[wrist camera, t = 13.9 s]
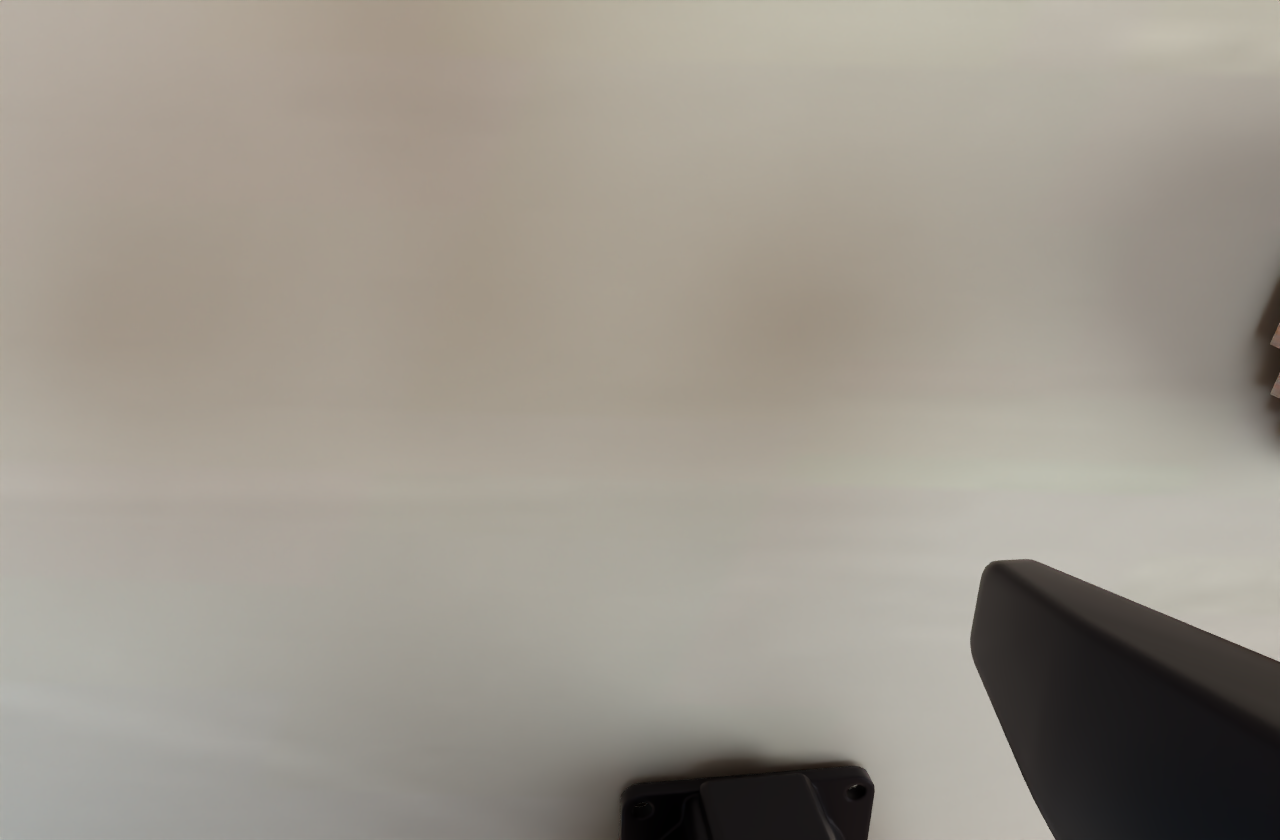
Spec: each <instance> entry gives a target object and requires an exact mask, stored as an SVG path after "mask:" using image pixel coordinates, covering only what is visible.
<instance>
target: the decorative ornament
mask: <svg viewBox="0 0 1280 840" xmlns="http://www.w3.org/2000/svg"><path fill="white" fill-rule="evenodd" d="M1270 344H1271V345H1273V346H1275V347H1277V348H1280V323H1279V325H1278V328H1277V330H1276V332H1275V334H1274V337H1273V339H1272V341H1271V343H1270ZM1270 394H1271V395H1273V396H1275V397H1277V398H1279V399H1280V373H1279V376H1278V378H1277V380H1276V382H1275V384H1274V387H1273V389H1272V391H1271V393H1270Z"/></svg>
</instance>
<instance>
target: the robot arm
mask: <svg viewBox="0 0 1280 840" xmlns="http://www.w3.org/2000/svg"><path fill="white" fill-rule="evenodd" d="M970 645H971V653H972V657H973V660H974V663H975V666H976V668H977V670H978V673H979V675H980V677H981V680H982V682H983V684H984V687H985V689H986V691H987V694H988V696H989V698H990V701H991V703H992V705H993V708H994V710H995V712H996V715H997V717H998V719H999V722H1000V724H1001V726H1002V729H1003V731H1004V733H1005V736H1006V738H1007V740H1008V743H1009V745H1010V747H1011V750H1012V752H1013V754H1014V757H1015V759H1016V761H1017V763H1018V766H1019V768H1020V770H1021V773H1022V775H1023V777H1024V780H1025V782H1026V784H1027V786H1028V788H1029V790H1030V792H1031V794H1032V797H1033V799H1034V801H1035V803H1036V805H1037V806H1038V808H1039V810H1040V812H1041V814H1042V816H1043V818H1044V820H1045V821H1046V823H1047V825H1048V827H1049V829H1050V831H1051V832H1052V834H1053V836H1054V838H1055V839H1056V840H1280V662H1279V661H1276V660H1274V659H1271V658H1269V657H1267V656H1264V655H1262V654H1259V653H1257V652H1254V651H1252V650H1250V649H1247V648H1245V647H1242V646H1240V645H1238V644H1235V643H1233V642H1230V641H1228V640H1225V639H1223V638H1221V637H1218V636H1216V635H1213V634H1211V633H1209V632H1206V631H1204V630H1201V629H1199V628H1196V627H1194V626H1192V625H1189V624H1187V623H1184V622H1182V621H1180V620H1177V619H1175V618H1172V617H1170V616H1168V615H1165V614H1163V613H1160V612H1158V611H1155V610H1153V609H1151V608H1148V607H1146V606H1143V605H1141V604H1139V603H1136V602H1134V601H1131V600H1129V599H1126V598H1124V597H1122V596H1119V595H1117V594H1114V593H1112V592H1110V591H1107V590H1105V589H1102V588H1100V587H1097V586H1095V585H1093V584H1090V583H1088V582H1085V581H1083V580H1081V579H1078V578H1076V577H1073V576H1071V575H1069V574H1066V573H1064V572H1061V571H1059V570H1056V569H1054V568H1052V567H1049V566H1047V565H1044V564H1042V563H1040V562H1037V561H1034V560H1029V559H1019V560H1001V561H993V562H991V563H990V564H989V565H987V566H986V567H985V569H984V571H983V573H982V577H981V581H980V586H979V592H978V597H977V603H976V608H975V614H974V619H973V624H972V630H971V637H970ZM854 785H857V786H856V787H855V788H852V789H849V788H850V787H851V786H854ZM874 792H875V790H874V784H873V782H872V780H871V778H870V776H869V774H868V773H867V771H866V770H865V769H863V768H861V767H857V766H848V767H836V768H823V769H811V770H799V771H786V772H774V773H762V774H749V775H737V776H725V777H712V778H700V779H688V780H675V781H663V782H651V783H640V784H635V785H632V786H631V787H629V788H627V789H626V790H625V791H624V792H623V794H622V795H621V799H620V823H619V840H867V838H868V832H869V825H870V818H871V812H872V805H873V798H874ZM639 803H647V804H646V805H645V806H641V807H635V806H636V805H637V804H639Z"/></svg>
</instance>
